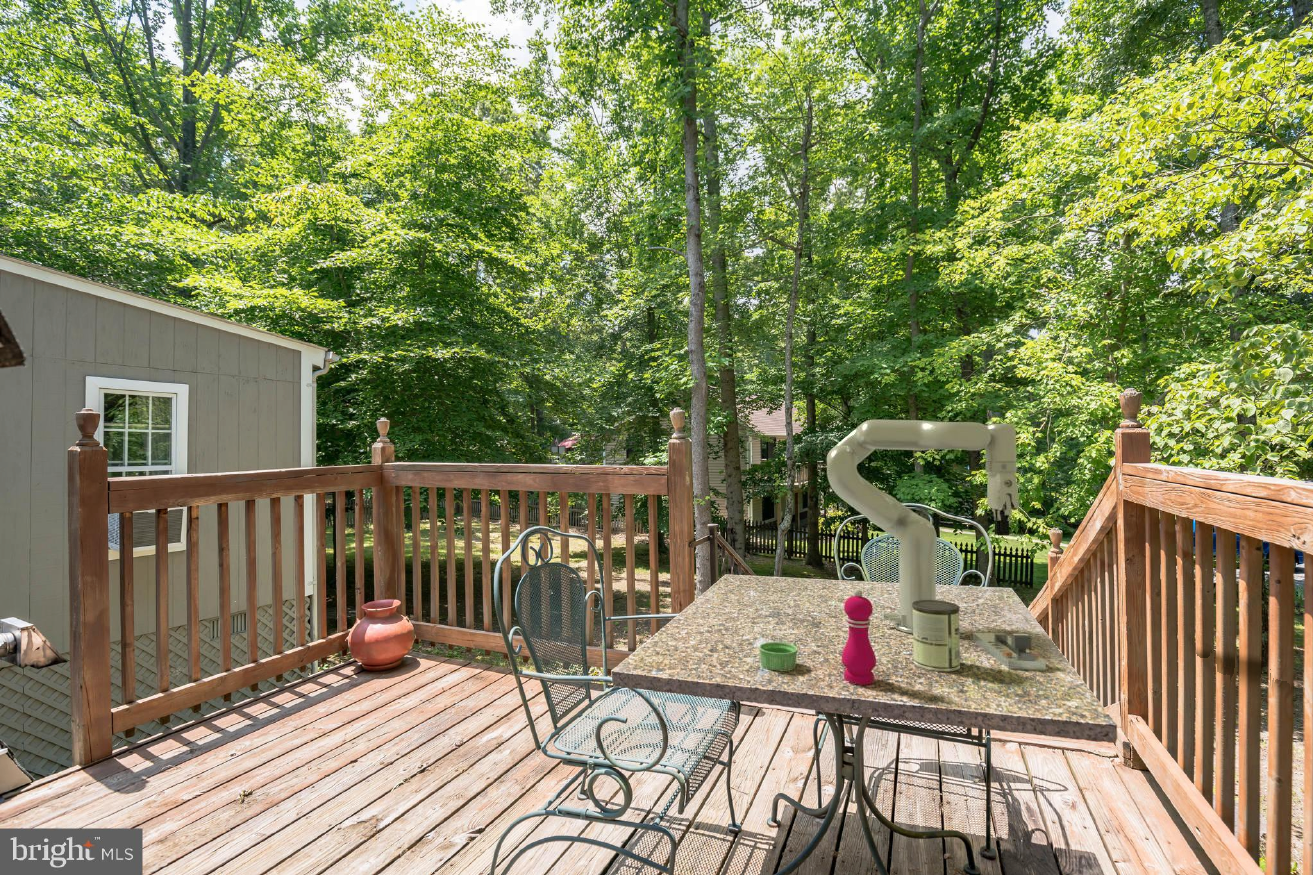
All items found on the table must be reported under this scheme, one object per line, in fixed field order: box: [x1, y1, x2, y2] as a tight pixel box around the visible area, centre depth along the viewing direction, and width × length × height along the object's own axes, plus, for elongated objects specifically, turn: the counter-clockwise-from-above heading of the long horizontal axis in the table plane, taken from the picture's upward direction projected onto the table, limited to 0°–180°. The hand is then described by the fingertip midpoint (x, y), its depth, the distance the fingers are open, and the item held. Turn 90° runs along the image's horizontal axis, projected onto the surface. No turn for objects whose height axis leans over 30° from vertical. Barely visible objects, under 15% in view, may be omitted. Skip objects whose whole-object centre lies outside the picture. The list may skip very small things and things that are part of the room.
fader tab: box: [1010, 633, 1032, 655], centre depth 153 cm, size 4×2×5 cm, turn 83°
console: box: [972, 632, 1046, 671], centre depth 161 cm, size 8×23×4 cm, turn 173°
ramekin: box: [758, 641, 799, 671], centre depth 153 cm, size 9×9×4 cm
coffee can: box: [912, 599, 961, 673], centre depth 153 cm, size 10×10×14 cm
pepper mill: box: [841, 588, 877, 686], centre depth 143 cm, size 7×7×20 cm
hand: (1001, 534), depth 179 cm, fingers closed
